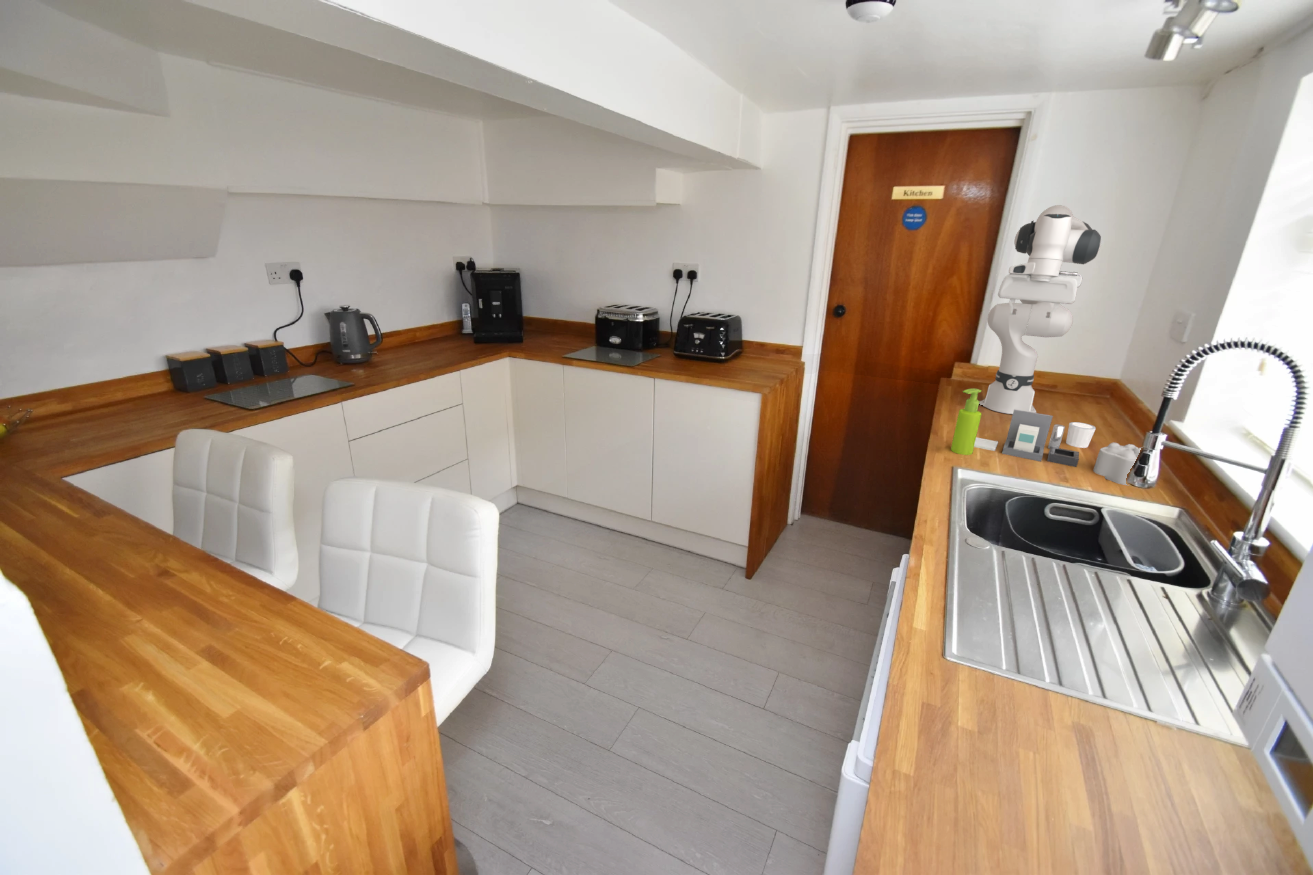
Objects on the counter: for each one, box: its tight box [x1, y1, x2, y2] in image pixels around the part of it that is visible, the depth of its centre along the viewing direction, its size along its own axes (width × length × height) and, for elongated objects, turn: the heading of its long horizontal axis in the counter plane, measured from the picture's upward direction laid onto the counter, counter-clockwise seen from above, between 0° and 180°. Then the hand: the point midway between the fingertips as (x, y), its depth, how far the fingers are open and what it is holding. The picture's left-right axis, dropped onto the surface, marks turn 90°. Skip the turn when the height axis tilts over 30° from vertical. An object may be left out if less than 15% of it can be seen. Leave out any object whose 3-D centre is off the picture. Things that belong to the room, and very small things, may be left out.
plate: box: [974, 436, 999, 452], centre depth 179 cm, size 8×7×1 cm
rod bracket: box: [1047, 447, 1080, 468], centre depth 167 cm, size 7×7×3 cm
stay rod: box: [1047, 423, 1066, 450], centre depth 176 cm, size 3×3×8 cm
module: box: [1013, 424, 1039, 452], centre depth 171 cm, size 5×5×8 cm
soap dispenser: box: [950, 388, 982, 456], centre depth 169 cm, size 6×7×20 cm
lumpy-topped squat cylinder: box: [1092, 442, 1142, 486], centre depth 158 cm, size 10×13×9 cm
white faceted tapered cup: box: [1065, 421, 1097, 449], centre depth 179 cm, size 7×7×7 cm
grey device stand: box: [1001, 409, 1054, 462], centre depth 171 cm, size 10×10×12 cm
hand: (1030, 316), depth 177 cm, fingers open, 8 cm apart
